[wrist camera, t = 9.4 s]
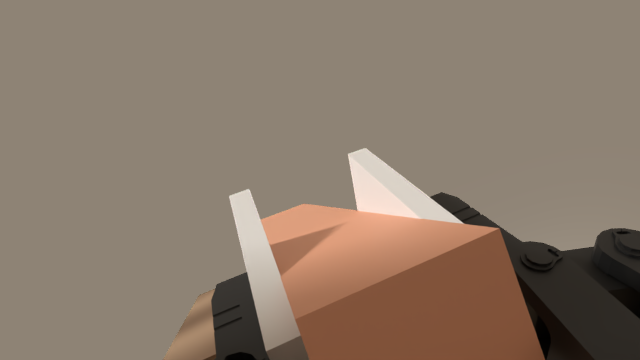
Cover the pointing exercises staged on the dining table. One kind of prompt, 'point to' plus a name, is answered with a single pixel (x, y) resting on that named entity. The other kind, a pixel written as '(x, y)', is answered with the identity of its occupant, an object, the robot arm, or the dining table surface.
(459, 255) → the bar
